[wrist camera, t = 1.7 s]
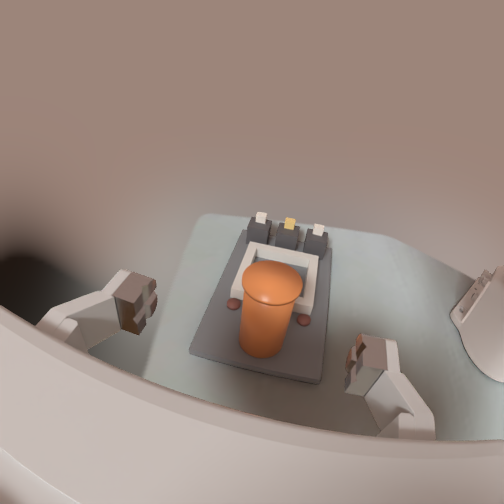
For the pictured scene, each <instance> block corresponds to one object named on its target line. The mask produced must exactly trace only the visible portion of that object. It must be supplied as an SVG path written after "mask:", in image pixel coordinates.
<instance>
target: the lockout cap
mask: <svg viewBox="0 0 504 504" xmlns="http://www.w3.org/2000/svg"><path fill="white" fill-rule="evenodd" d="M242 287H243V289H244V295H243V304H242V313H241V322H240V331H239V344H240V346H241V348H242V349H243V350H244V351H245V352H246V353H247V354H249V355H250V356H253V357H256V358H269V357H272V356H274V355H276V354H277V353H278V352H279V351H280V350H281V348H282V345H283V341H284V338H285V335H286V331H287V328H288V324H289V321H290V317H291V314H292V310H293V307H294V303H295V300H296V299H297V298H298V297H299V295H300V293H301V290H302V287H303V282H302V279H301V276H300V275H299V273H298V272H297V271H296V270H295V269H293V268H292V267H290V266H289V265H287V264H284V263H282V262H278V261H271V260H265V261H259V262H255V263H253V264H251V265H250V266H248V267H247V268H246V269H245V270H244V272H243V275H242Z"/></svg>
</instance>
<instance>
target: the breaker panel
mask: <svg viewBox="0 0 504 504" xmlns="http://www.w3.org/2000/svg"><path fill="white" fill-rule="evenodd" d="M266 219H267V213H262V212H257V215H256V217H252V218H251V220H250V222H249V225H248V227H247V230H242V233H241V235H240V237H239V239H238V241H237V243H236V246H235V248H234V250H233V252H232V254H231V256H230V259H229V261H228V263H227V265H226V267H225V270H224V272H223V274H222V276H221V278H220V281H219V283H218V285H217V287H216V289H215V292H214V294H213V296H212V298H211V301H210V303H209V305H208V307H207V309H206V312H205V314H204V316H203V318H202V321H201V323H200V325H199V327H198V330H197V332H196V334H195V336H194V339H193V341H192V343H191V345H190V348H189V353H190V354H192V355H195V356H199V357H202V358H206V359H209V360H213V361H217V362H220V363H224V364H228V365H232V366H236V367H240V368H244V369H248V370H252V371H256V372H260V373H265V374H269V375H274V376H278V377H283V378H288V379H293V380H298V381H303V382H308V383H313V384H319V382H320V380H321V373H322V365H323V356H324V346H325V336H326V325H327V313H328V300H329V285H330V269H331V248H327V247H326V246H327V236H328V233H326V232H323V231H324V226H323V225H319V224H314V229H308V230H307V234H306V238H305V243H304V242H300V241H297V239H298V234H299V228H300V227H299V226H294V225H295V219H291V218H286V220H285V223H280V224H279V227H278V230H277V234H276V236H272V235H270V229H271V223H272V221H270V220H266ZM265 260H271V261H278V262H282V263H284V264H287V265H289V266H290V267H292V268H293V269H295V270H296V271H297V272H298V273H299V275H300V276H301V279H302V282H303V287H302V290H301V293H300V295H299V297H298V298H297V299H296V300H295V303H294V307H293V310H292V314H291V317H290V321H289V324H288V328H287V331H286V335H285V338H284V341H283V345H282V348H281V350H280V351H279V352H278V353H277V354H276V355H274V356H272V357H269V358H256V357H253V356H250V355H249V354H247V353H246V352H245V351H244V350H243V349H242V348H241V346H240V344H239V331H240V322H241V313H242V304H243V295H244V289H243V287H242V275H243V272H244V270H245V269H246V268H247V267H248V266H250V265H251V264H253V263H255V262H259V261H265Z"/></svg>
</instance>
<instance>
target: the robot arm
mask: <svg viewBox="0 0 504 504" xmlns="http://www.w3.org/2000/svg"><path fill="white" fill-rule="evenodd" d="M155 288H156V280H154V279H152V278H149V277H146V276H144V275H141V274H138V273H135V272H131V271H128V270H125V269H121V270H120V271H118V273H117V274H116V275H115V276H114V277H113V278H112V279H111V281H110V282H109V283H108V284H107V285H106V286H105V287H104V289H102V291H101V292H100V291H96V292H93V293H91V294H88V295H85V296H82V297H80V298H77V299H74V300H72V301H69V302H67V303H64V304H61V305H59V306H56V307H53V308H51V309H50V311H49V312H48V313H47V314H46V315H45V316H44V317H43V318H42V320H41V321H40V322H39V323H38V324H37V325H36V326H34V325H32V324H30V323H29V322H27V321H25V320H23V319H22V318H20V317H18V316H17V315H15V314H13V313H12V312H10V311H9V310H7V309H6V308H4V307H2V306H1V305H0V504H504V440H477V441H436V434H435V422H434V415H433V413H432V412H431V410H430V409H429V408H428V406H427V405H426V403H425V402H424V401H423V399H422V398H421V397H420V395H419V394H418V392H417V391H416V390H415V388H414V387H413V386H412V384H411V383H410V381H409V380H408V379H407V377H406V376H405V375H404V374H403V373H400V364H399V355H398V347H397V342H396V340H391V339H386V338H381V337H376V336H371V335H366V334H359V335H358V337H357V339H356V345H355V346H353V347H352V348H351V350H350V352H349V354H348V357H347V361H346V371H347V373H348V375H347V377H346V378H345V393H349V394H354V395H359V396H364V399H365V401H366V403H367V405H368V407H369V409H370V411H371V413H372V415H373V417H374V419H375V421H376V423H377V425H378V427H379V429H380V431H381V432H380V433H379V434H378V435H377V436H375V437H374V436H365V435H357V434H350V433H343V432H336V431H330V430H324V429H318V428H313V427H307V426H302V425H297V424H292V423H288V422H283V421H279V420H274V419H270V418H266V417H262V416H258V415H254V414H250V413H246V412H242V411H239V410H235V409H231V408H228V407H225V406H221V405H218V404H214V403H211V402H208V401H205V400H202V399H199V398H196V397H193V396H190V395H187V394H184V393H181V392H178V391H175V390H172V389H170V388H167V387H164V386H161V385H159V384H156V383H154V382H151V381H148V380H146V379H143V378H141V377H138V376H136V375H133V374H131V373H129V372H126V371H124V370H122V369H119V368H117V367H115V366H112V365H110V364H108V363H106V362H104V361H101V360H99V359H97V358H95V357H93V356H91V355H89V353H88V350H87V349H89V348H91V347H92V346H94V345H96V344H98V343H100V342H101V341H103V340H105V339H106V338H108V337H110V336H112V335H113V334H115V333H117V332H119V331H120V330H121V329H122V330H125V331H128V332H130V333H133V334H136V335H140V333H141V332H142V330H143V329H144V327H145V326H146V319H147V318H150V317H151V316H152V314H153V313H154V311H155V309H156V306H157V295H156V293H155V292H154V290H155ZM450 317H451V319H452V321H453V323H454V324H455V326H456V327H457V328H458V330H459V332H460V335H461V338H462V342H463V344H464V347H465V349H466V351H467V353H468V355H469V356H470V358H471V359H472V361H473V362H474V363H475V365H476V366H477V367H478V368H479V369H480V370H481V371H482V372H483V373H484V374H486V375H487V376H489V377H490V378H492V379H494V380H496V381H498V382H502V383H504V266H498V267H497V268H496V270H495V272H494V273H493V275H491V274H490V273H489V272H488V271H486V270H484V272H483V274H482V275H481V277H479V278H478V279H477V280H476V281H475V282H474V284H473V285H472V286H471V288H470V289H469V290H468V292H467V293H466V294H465V295H464V297H463V298H462V299H461V300H460V302H459V303H458V304H457V305H456V307H455V308H454V309H453V310H452V312H451V313H450Z"/></svg>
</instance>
